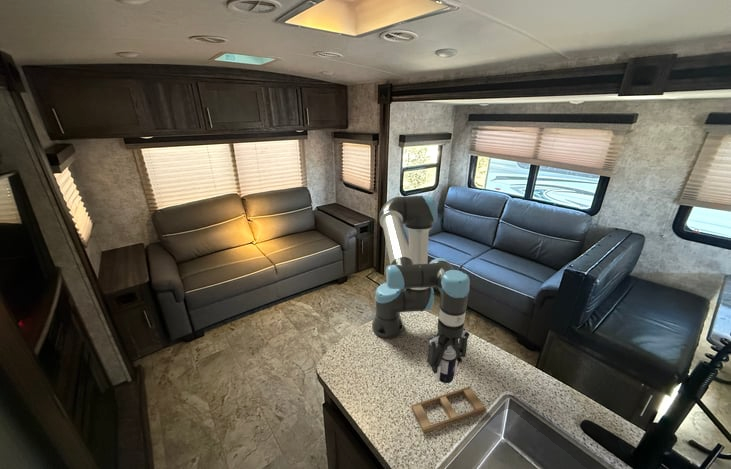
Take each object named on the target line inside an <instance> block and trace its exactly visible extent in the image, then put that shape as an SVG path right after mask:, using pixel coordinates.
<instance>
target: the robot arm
mask: <svg viewBox="0 0 731 469" xmlns="http://www.w3.org/2000/svg"><path fill="white" fill-rule="evenodd" d="M437 207H438V206H437V204H436V201H435V198H433V197H432V196H430V195H409V196H406V195H405V196H395V197H392V198H390V199H389V200H388V201H386V202H385V203H384V204H383V205H382V207H381V210H380V211H379V216H378V219H379V224H380V227H381V228H382V229H383V234H384V238H385V245H386V250H387V254H388V259H389V265H387V266H386V268H385V280H386V282H384V283H382V284H380V285H379V286H378V287H377V288H376V290H375V296H374V299H375V315H374V317H373V318H372V319H373V320H372V323H371V329H372V331H373V333H374V334H375V335H376V336H377V337H379V338H382V339H395V338H398V337H399V336H400V335H401V334H402V333H403V331H404V323H403V319H402V318H401V313H411V312H426V311H430V310H431V309H432V308H433V306H434V301H435V295H434V294H435V292H434V290H435V289H434V288H437V291H438V292H439V294H440V298H439V307H438V320H437V333H436V336H435V337H433V338H432V337H429V338H428V339H427V341H428V349H427V351H428V352H427V357H426V361H427V364H428V365H429V366H430V367H431V370H432V376H433V379H435V381H436V382H437V383H439V382H440V381H439V379H440V371H441V366H440V365H439V364H440V362H441V359H442V357H443V354H444V352H445V350H447V348H448V346H452V347H453V349H454V350H455V351H456V355H457V356H456V363H455V370H454V377H457V371H458V370H457V369H458V367H459V366H460V363H461V362H462V361H463V359H464V358H466V355H467V349H468V348H467V346H468V339H469V337H470V333H469V331H468V330H467V329H466V328H465V327H464V326H465V318H466V312H467V305H468V300H469V293H470V290H471V289H470V288H471V287H470V285H471V284H470V283H471V280H470V277H469V275H468V274H467V273H465V272H463V271H461V270H458V269H455V268H454V267H453V265H452V263H450V262H449V260H447V259H446V258H443V257H436V258H434V259H431V261H430V262H429V263H428V257H429V235H430V233H429V232H430V230H432V229H433V224H435V223H436V222H437V221H438V216H439V214H438V208H437ZM403 224H404V225H405V229H407V230H408V240H407V238H406V234H405V230H404V227H403ZM462 358H463V359H462Z"/></svg>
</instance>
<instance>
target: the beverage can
mask: <svg viewBox="0 0 731 469" xmlns="http://www.w3.org/2000/svg"><path fill="white" fill-rule="evenodd" d="M456 356H457V355H456V351H455V350H454V349H453V347H452V346H451V345H450V346H448V348H447V350H445V352H444V354H443V357H442V359H441V362H440V364H439V365H440V366H441V371H440V379H439V382H441V383H442V384H450V383H451V382H453V380H454V378H455V376H454V370H455V363H456Z"/></svg>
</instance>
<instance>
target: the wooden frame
mask: <svg viewBox="0 0 731 469" xmlns="http://www.w3.org/2000/svg"><path fill="white" fill-rule="evenodd" d="M462 395H463V396H464V398H465V399H466V401H467V402H468V404H469V405H470V407H471V408H472V409H473V410H471V411H468V412H465V413H461V414H460V415H458V413H457V412H456V410H455V409H454V407H453V406H452V404H451V402H450V401H449V399H452V398H455V397H459V396H462ZM437 403H439V404H440V406H441V407H442V409H443V411H444V412H445V414H446V416H447V419H445V420H443V421H438V422H436V423H431V421H430V419H429V417H428V416H427V414H426V411H425V409H424V408H425V407H428V406H432V405H434V404H437ZM410 409H411V411H412V413H413V415H414V418H415V419H416V421H417V424H418V425H419V428H420V430H421V432H422V434H423V435H424V434H428V433H430V432H434V431H436V430H439V429H441V428H445V427H447V426H450V425H453V424H456V423H458V422H462V421H464V420H467V419H470V418H472V417H475V416H478V415H481V414H484V413H486V410H487V407H486V406H485V405H484V404H483V402H482V401H481V399H480V398H479V397H478V395H477V394H476V393H475V392H474V390H473V388H472V387H471V386H467V387H464V388H461V389H457V390H454V391H452V392H449V393H445V394H443V395H439V396H436V397H433V398H429V399H427V400H424V401H421V402H420V401H419V402H417V403H414V404H411V408H410Z"/></svg>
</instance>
